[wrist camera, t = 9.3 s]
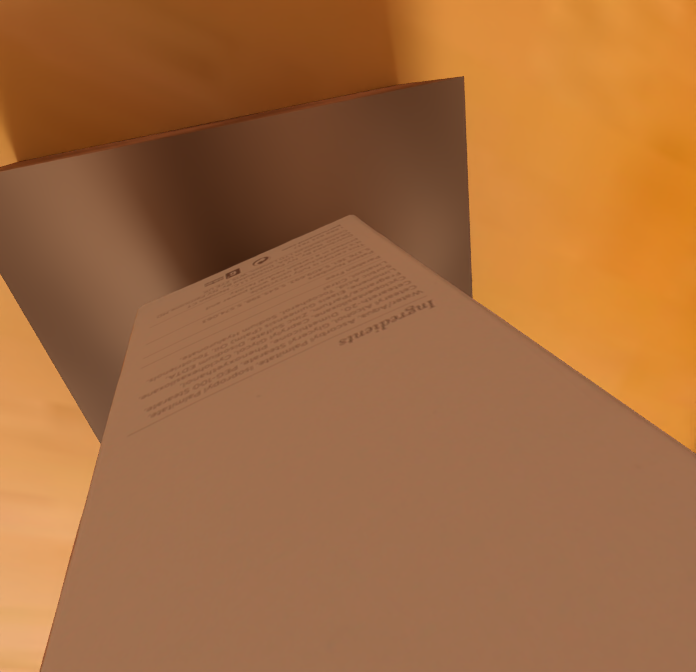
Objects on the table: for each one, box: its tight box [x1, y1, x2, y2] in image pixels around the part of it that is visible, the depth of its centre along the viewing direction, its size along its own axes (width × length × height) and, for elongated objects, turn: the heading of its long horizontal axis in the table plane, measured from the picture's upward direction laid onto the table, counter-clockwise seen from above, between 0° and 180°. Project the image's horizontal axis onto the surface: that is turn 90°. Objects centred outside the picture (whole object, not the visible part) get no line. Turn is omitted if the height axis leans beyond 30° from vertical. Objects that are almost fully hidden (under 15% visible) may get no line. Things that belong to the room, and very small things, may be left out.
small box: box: [40, 215, 696, 672], centre depth 8 cm, size 8×6×13 cm
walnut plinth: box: [0, 76, 472, 443], centre depth 18 cm, size 14×14×5 cm
